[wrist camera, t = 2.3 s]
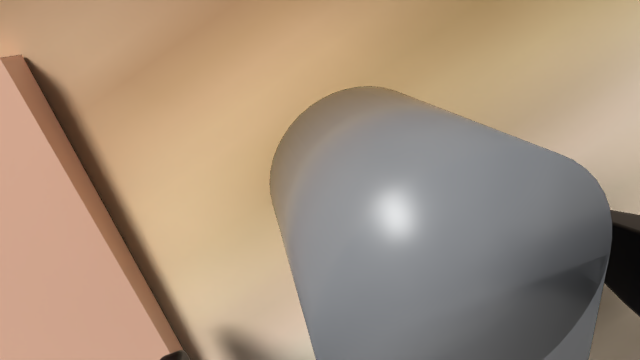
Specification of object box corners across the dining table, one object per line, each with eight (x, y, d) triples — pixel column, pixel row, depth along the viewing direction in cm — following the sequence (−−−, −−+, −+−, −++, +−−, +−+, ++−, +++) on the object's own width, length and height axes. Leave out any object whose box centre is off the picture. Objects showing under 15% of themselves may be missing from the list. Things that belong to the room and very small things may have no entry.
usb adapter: (245, 115, 7) (271, 216, 3) (436, 64, 7) (640, 104, 4) (338, 420, 11) (392, 607, 8) (452, 375, 12) (553, 528, 8)
